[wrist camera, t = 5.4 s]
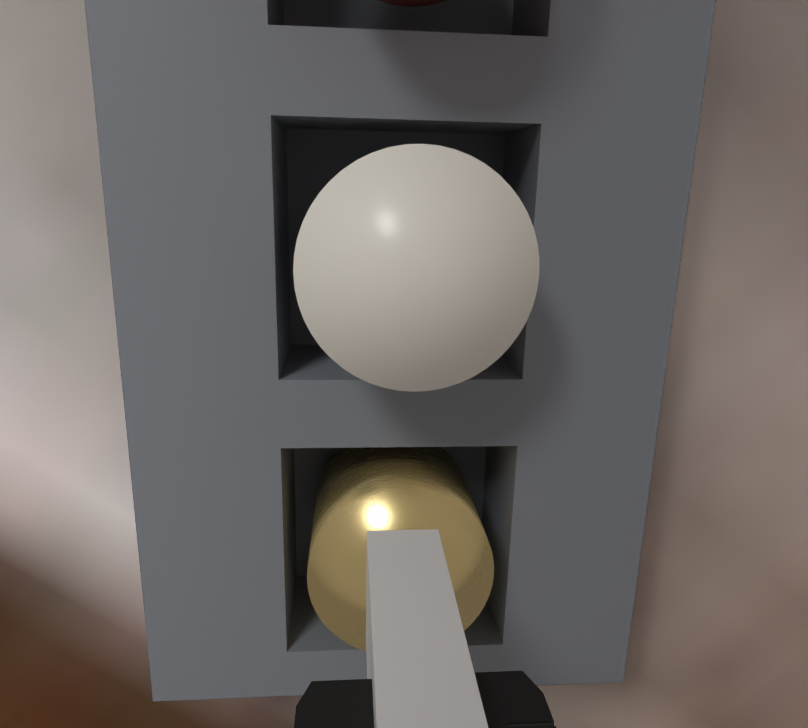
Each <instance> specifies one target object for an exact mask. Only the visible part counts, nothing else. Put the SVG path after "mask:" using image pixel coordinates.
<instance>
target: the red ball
mask: <svg viewBox="0 0 808 728" xmlns="http://www.w3.org/2000/svg"><path fill="white" fill-rule="evenodd" d="M378 1H380V2H384V3H387V4H391V5H396V6H404V7H421V6H427V5H433V4H437V3H440V2H443V1H446V0H378Z"/></svg>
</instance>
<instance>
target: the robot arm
mask: <svg viewBox="0 0 808 728" xmlns="http://www.w3.org/2000/svg"><path fill="white" fill-rule="evenodd" d="M366 659H367V679H353V680H328V681H311V683H310V684H309V686H308V688H307V689H306V691H305V693H304V694H303V696H302V698H301V699H300V701H299V703H298V704H297V706H296V714H295V724H294V728H556V726H554V720H553V718H552V715H551V712H550V710H549V707H548V705H547V702H546V699H545V697H544V694H543V693H542V691H541V690H540V689H539V688H538V687H537V686H536V685H535V684H534V683H533V682H532V680H531V679H530V678H529V677H528V676H527V675H526V674H525V673H524V672H523V671H499V672H474V669H473V665H472V661H471V657H470V653H469V649H468V645H467V641H466V637H465V634H464V630H463V626H462V622H461V618H460V614H459V610H458V606H457V602H456V598H455V594H454V590H453V586H452V582H451V578H450V574H449V570H448V566H447V562H446V558H445V555H444V551H443V547H442V543H441V539H440V535H439V531H438V529H427V530H381V531H367V564H366Z"/></svg>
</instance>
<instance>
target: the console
mask: <svg viewBox="0 0 808 728" xmlns="http://www.w3.org/2000/svg"><path fill="white" fill-rule="evenodd" d="M715 2H716V0H446V1H443V2H440V3H437V4H433V5H427V6H421V7H404V6H396V5H391V4H387V3H384V2H380V1H378V0H85V9H86V19H87V29H88V39H89V50H90V60H91V70H92V80H93V91H94V101H95V111H96V121H97V132H98V142H99V152H100V162H101V173H102V183H103V193H104V203H105V214H106V224H107V234H108V244H109V254H110V265H111V275H112V285H113V295H114V306H115V316H116V326H117V336H118V347H119V357H120V367H121V377H122V388H123V398H124V408H125V418H126V429H127V439H128V449H129V459H130V469H131V480H132V490H133V500H134V510H135V521H136V531H137V541H138V551H139V562H140V572H141V582H142V592H143V603H144V613H145V623H146V633H147V644H148V654H149V664H150V674H151V684H152V695H153V701H173V700H197V699H222V698H246V697H270V696H295V695H303V694H304V693H305V691H306V689H307V688H308V686H309V684H310V683H311V681H328V680H353V679H367V659H366V651H363V650H360V649H358V648H355V647H353V646H351V645H349V644H347V643H346V642H344V641H342V640H341V639H340V638H338V637H337V636H335V635H334V634H333V633H332V632H331V631H330V630H329V629H328V628H327V627H326V626H325V625H324V623H323V622H322V621H321V620H320V618H319V617H318V615H317V613H316V612H315V610H314V607H313V605H312V603H311V600H310V596H309V592H308V586H307V568H308V559H309V550H310V541H311V532H312V523H313V514H314V505H315V496H316V491H317V486H318V483H319V480H320V477H321V475H322V473H323V472H324V470H325V468H326V466H327V465H328V464H329V462H330V461H331V460H332V459H333V458H334V457H335V455H336V454H337V453H338V452H340V451H341V450H342V449H343V448H364V447H442V448H443V449H445V450H446V451H447V452H448V453H449V454H450V455H451V456H452V457H453V459H454V460H455V461H456V463H457V464H458V466H459V468H460V470H461V472H462V474H463V476H464V479H465V481H466V484H467V486H468V489H469V492H470V494H471V497H472V499H473V502H474V505H475V507H476V510H477V512H478V515H479V518H480V520H481V523H482V525H483V528H484V531H485V533H486V536H487V538H488V541H489V544H490V547H491V550H492V554H493V560H494V578H493V585H492V589H491V592H490V595H489V598H488V600H487V602H486V604H485V606H484V608H483V609H482V611H481V613H480V614H479V616H478V617H477V618H476V619H475V620H474V622H473V623H472V624H471V625H470V626H469V627H468V628H467V629H466V630H465V631H464V634H465V637H466V641H467V645H468V649H469V653H470V657H471V661H472V665H473V669H474V672H499V671H523V672H524V673H525V674H526V675H527V676H528V677H529V678H530V679H531V680H532V682H533V683H534V684H535V685H536V686H539V685H563V684H588V683H612V682H623V681H624V673H625V666H626V659H627V651H628V644H629V637H630V629H631V622H632V614H633V607H634V600H635V592H636V585H637V578H638V570H639V563H640V555H641V548H642V541H643V533H644V526H645V519H646V511H647V504H648V496H649V489H650V482H651V474H652V467H653V460H654V452H655V445H656V437H657V430H658V423H659V415H660V408H661V401H662V393H663V386H664V378H665V371H666V364H667V356H668V349H669V342H670V334H671V327H672V319H673V312H674V305H675V297H676V290H677V283H678V275H679V268H680V260H681V253H682V246H683V238H684V231H685V224H686V216H687V209H688V201H689V194H690V187H691V179H692V172H693V164H694V157H695V150H696V142H697V135H698V128H699V120H700V113H701V105H702V98H703V91H704V83H705V76H706V69H707V61H708V54H709V46H710V39H711V32H712V24H713V17H714V10H715ZM404 144H431V145H440V146H444V147H448V148H452V149H456V150H458V151H461V152H463V153H466V154H468V155H471V156H473V157H474V158H476V159H478V160H480V161H481V162H483V163H485V164H486V165H488V166H489V167H490V168H492V169H493V170H494V171H495V172H497V173H498V174H499V175H500V176H501V177H502V178H503V179H504V180H505V181H506V182H507V183H508V184H509V185H510V186H511V187H512V189H513V190H514V191H515V193H516V194H517V195H518V197H519V198H520V200H521V202H522V203H523V205H524V207H525V209H526V210H527V212H528V215H529V217H530V220H531V222H532V225H533V227H534V231H535V235H536V239H537V243H538V251H539V259H540V260H539V281H538V288H537V293H536V297H535V300H534V304H533V307H532V310H531V312H530V315H529V317H528V319H527V322H526V323H525V325H524V327H523V329H522V330H521V332H520V334H519V335H518V337H517V338H516V339H515V341H514V342H513V343H512V345H511V346H510V347H509V349H508V350H507V351H506V352H505V353H504V354H503V355H502V356H501V357H500V358H499V359H498V360H496V361H495V362H494V363H493V364H492V365H490V366H489V367H488V368H487V369H485V370H483V371H482V372H480V373H479V374H477V375H475V376H474V377H472V378H470V379H467V380H465V381H463V382H461V383H459V384H455V385H452V386H449V387H446V388H442V389H437V390H431V391H419V392H410V391H398V390H392V389H387V388H383V387H380V386H377V385H374V384H370V383H368V382H366V381H364V380H362V379H360V378H357V377H355V376H354V375H352V374H351V373H349V372H348V371H346V370H345V369H343V368H342V367H341V366H339V365H338V364H337V363H336V362H335V361H333V360H332V359H331V358H330V357H329V356H328V355H327V354H326V353H325V352H324V350H323V349H322V348H321V347H320V346H319V344H318V343H317V342H316V340H315V339H314V337H313V336H312V335H311V333H310V331H309V329H308V327H307V325H306V323H305V321H304V319H303V317H302V314H301V311H300V308H299V306H298V302H297V298H296V293H295V288H294V277H293V263H294V252H295V247H296V241H297V237H298V234H299V231H300V228H301V225H302V222H303V220H304V218H305V216H306V214H307V212H308V209H309V208H310V206H311V205H312V203H313V201H314V200H315V198H316V197H317V195H318V194H319V193H320V191H321V190H322V189H323V188H324V187H325V186H326V184H327V183H328V182H329V181H330V180H331V179H332V178H333V177H335V176H336V175H337V174H338V173H339V172H340V171H341V170H343V169H344V168H346V167H347V166H349V165H350V164H352V163H353V162H355V161H356V160H358V159H360V158H362V157H364V156H366V155H368V154H370V153H372V152H375V151H379V150H382V149H385V148H388V147H393V146H398V145H404Z"/></svg>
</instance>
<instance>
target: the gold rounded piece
mask: <svg viewBox="0 0 808 728" xmlns="http://www.w3.org/2000/svg"><path fill="white" fill-rule="evenodd" d="M427 529H438V531H439V535H440V539H441V543H442V547H443V551H444V555H445V558H446V562H447V566H448V570H449V574H450V578H451V582H452V586H453V590H454V594H455V598H456V602H457V606H458V610H459V614H460V618H461V622H462V626H463V630H464V631H465V630H466V629H467V628H468V627H469V626H470V625H471V624H472V623H473V622H474V620H475V619H476V618H477V617H478V616H479V614H480V613H481V611H482V609H483V608H484V606H485V604H486V602H487V600H488V598H489V595H490V592H491V589H492V585H493V578H494V560H493V554H492V550H491V547H490V544H489V541H488V538H487V536H486V533H485V531H484V528H483V525H482V523H481V520H480V518H479V515H478V512H477V510H476V507H475V505H474V502H473V499H472V497H471V494H470V492H469V489H468V486H467V484H466V481H465V479H464V476H463V474H462V472H461V470H460V468H459V466H458V464H457V463H456V461H455V460H454V459H453V457H452V456H451V455H450V454H449V453H448V452H447V451H446V450H445V449H443V448H442V447H364V448H343V449H342V450H341V451H340V452H338V453H337V454H336V455H335V457H334V458H333V459H332V460H331V461H330V462H329V464H328V465H327V466H326V468H325V470H324V472H323V473H322V475H321V477H320V480H319V483H318V486H317V491H316V496H315V505H314V514H313V523H312V532H311V541H310V550H309V559H308V568H307V586H308V592H309V596H310V600H311V603H312V605H313V607H314V610H315V612H316V613H317V615H318V617H319V618H320V620H321V621H322V622H323V623H324V625H325V626H326V627H327V628H328V629H329V630H330V631H331V632H332V633H333V634H334V635H335V636H337V637H338V638H340V639H341V640H342V641H344V642H346V643H347V644H349V645H351V646H353V647H355V648H358V649H360V650H363V651H366V564H367V531H381V530H427Z"/></svg>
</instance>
